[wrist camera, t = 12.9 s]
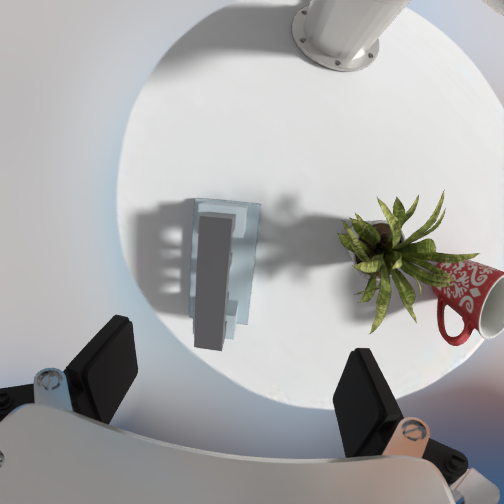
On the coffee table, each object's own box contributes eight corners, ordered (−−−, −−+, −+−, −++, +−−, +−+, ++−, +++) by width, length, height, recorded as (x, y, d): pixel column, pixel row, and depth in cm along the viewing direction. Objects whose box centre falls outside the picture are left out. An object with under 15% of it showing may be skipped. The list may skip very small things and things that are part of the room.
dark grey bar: (207, 211, 29) (199, 215, 25) (236, 214, 29) (232, 218, 25) (201, 329, 32) (194, 347, 28) (226, 332, 32) (221, 351, 28)
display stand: (197, 197, 34) (182, 201, 28) (260, 203, 34) (260, 208, 28) (191, 312, 38) (178, 337, 31) (247, 319, 38) (245, 346, 31)
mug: (454, 236, 34) (512, 257, 21) (472, 274, 35) (523, 303, 22) (402, 292, 37) (450, 335, 23) (425, 327, 38) (468, 371, 25)
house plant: (401, 171, 32) (480, 168, 17) (419, 263, 35) (489, 306, 20) (306, 199, 34) (343, 211, 18) (333, 296, 37) (374, 365, 21)
